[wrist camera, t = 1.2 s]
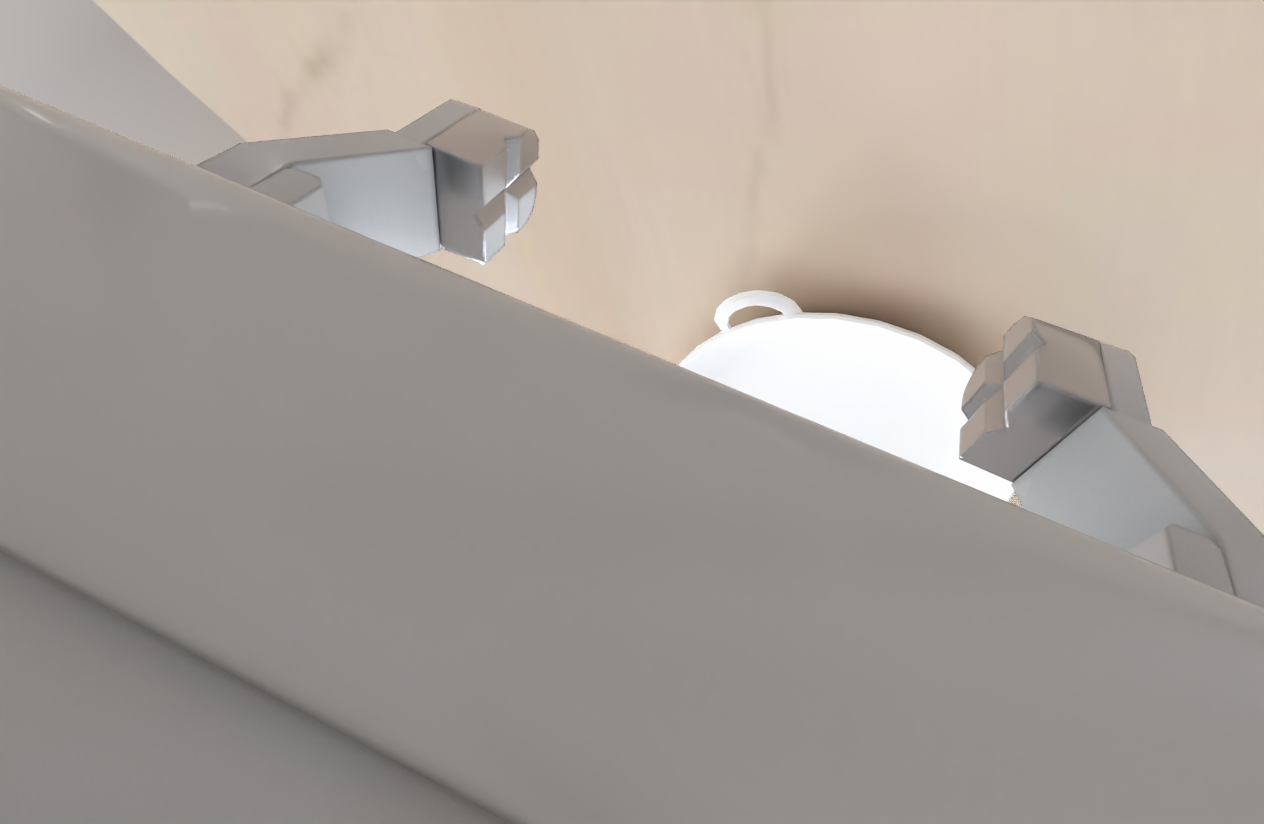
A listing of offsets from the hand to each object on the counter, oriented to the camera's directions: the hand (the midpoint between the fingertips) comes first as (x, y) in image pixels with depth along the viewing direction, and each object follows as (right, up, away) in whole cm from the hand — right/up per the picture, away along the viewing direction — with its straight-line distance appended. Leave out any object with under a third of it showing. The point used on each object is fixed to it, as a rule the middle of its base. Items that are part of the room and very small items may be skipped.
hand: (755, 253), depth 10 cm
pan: (+15, -3, +44) cm, 47 cm away
